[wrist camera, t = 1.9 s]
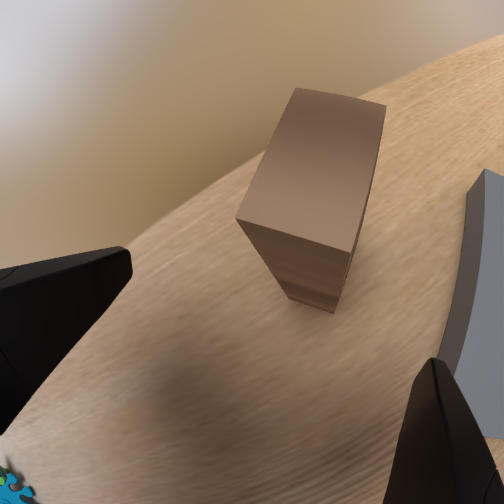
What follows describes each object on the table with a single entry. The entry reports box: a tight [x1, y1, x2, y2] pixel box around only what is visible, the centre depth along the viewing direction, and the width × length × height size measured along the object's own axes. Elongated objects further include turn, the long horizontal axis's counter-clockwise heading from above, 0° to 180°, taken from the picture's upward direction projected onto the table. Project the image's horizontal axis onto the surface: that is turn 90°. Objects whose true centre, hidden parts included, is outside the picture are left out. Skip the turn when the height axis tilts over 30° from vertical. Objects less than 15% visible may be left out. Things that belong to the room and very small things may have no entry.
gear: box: [0, 466, 34, 504], centre depth 15 cm, size 11×6×10 cm
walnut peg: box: [235, 88, 386, 314], centre depth 13 cm, size 5×3×12 cm, turn 157°
